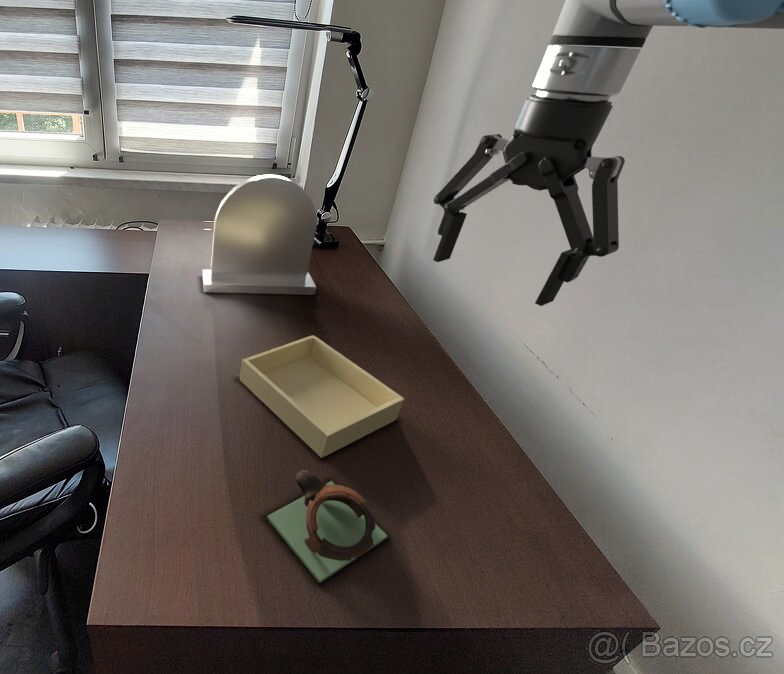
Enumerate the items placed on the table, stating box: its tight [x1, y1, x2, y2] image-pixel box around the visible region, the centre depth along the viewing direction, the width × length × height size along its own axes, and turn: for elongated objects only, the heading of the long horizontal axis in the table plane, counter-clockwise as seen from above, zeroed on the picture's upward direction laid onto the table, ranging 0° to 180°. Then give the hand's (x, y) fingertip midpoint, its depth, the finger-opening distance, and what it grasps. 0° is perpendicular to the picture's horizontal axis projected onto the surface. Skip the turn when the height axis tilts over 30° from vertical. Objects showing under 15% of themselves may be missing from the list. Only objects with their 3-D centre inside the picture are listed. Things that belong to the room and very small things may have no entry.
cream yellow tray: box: [239, 334, 405, 459], centre depth 81 cm, size 22×18×5 cm
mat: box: [266, 480, 388, 584], centre depth 61 cm, size 10×12×1 cm
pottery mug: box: [295, 469, 377, 561], centre depth 59 cm, size 12×10×8 cm
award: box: [201, 174, 318, 296], centre depth 111 cm, size 28×9×28 cm, turn 91°
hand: (488, 279), depth 59 cm, fingers open, 13 cm apart
